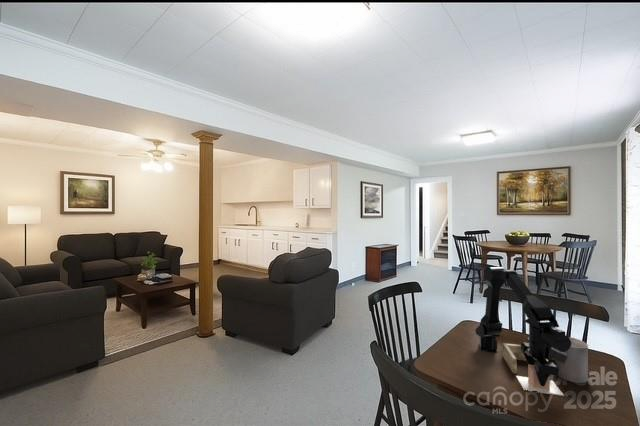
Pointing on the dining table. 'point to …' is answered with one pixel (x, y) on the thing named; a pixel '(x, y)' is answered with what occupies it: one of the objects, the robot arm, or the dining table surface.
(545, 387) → the terracotta block
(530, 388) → the cream mat
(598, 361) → the dining table surface
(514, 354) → the open front box
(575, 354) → the pillar candle
